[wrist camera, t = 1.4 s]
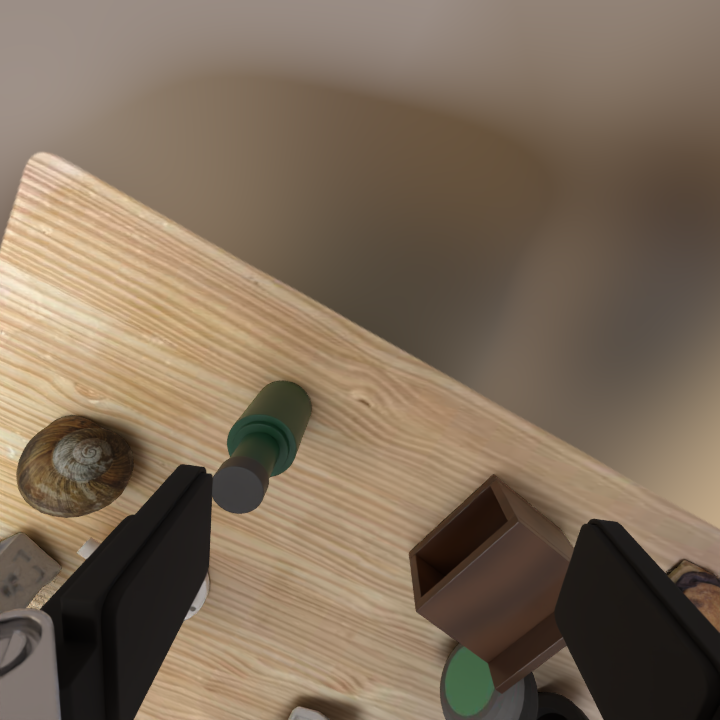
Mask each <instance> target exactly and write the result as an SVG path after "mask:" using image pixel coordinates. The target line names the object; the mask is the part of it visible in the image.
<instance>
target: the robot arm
mask: <svg viewBox="0 0 720 720" xmlns="http://www.w3.org/2000/svg"><path fill="white" fill-rule="evenodd" d="M212 483H213V477H212V475H211V474H207V473H206V469H205V468H204V467H200V466H192V465H185V464H181V465H180V466H178V467H177V468H176V470H175V471H174V472H173V473H172V474H171V475H170V476H169V477H168V478H167V480H166V481H165V482H164V483H163V484H162V485H161V486H160V487H159V489H158V490H157V491H156V492H155V493H154V494H153V495H152V496H151V497H150V499H149V500H148V501H147V502H146V503H145V504H144V505H143V506H142V507H141V509H140V510H139V511H138V512H137V513H136V514H135V515H130V516H127V517H126V518H125V519H124V520H123V521H122V522H121V523H120V524H119V525H118V526H117V527H116V528H115V529H114V530H113V531H112V532H111V533H110V535H109V536H108V537H107V538H106V539H105V540H104V541H103V542H102V543H99V542H98V541H96V540H95V539H93V538H92V537H91V538H89V539H88V540H87V541H86V543H85V544H84V545H83V546H82V547H81V548H80V549H79V551H78V552H77V554H79V555H80V556H82V557H83V558H85V559H86V560H85V562H84V563H83V564H82V565H81V566H80V567H79V568H78V569H77V570H76V571H75V572H74V573H73V574H72V576H71V577H70V578H69V579H68V580H67V581H66V582H65V583H64V584H63V585H62V586H61V587H60V589H59V590H58V591H57V592H56V593H55V594H54V595H53V596H52V597H51V598H50V599H49V600H48V601H47V603H46V604H45V605H44V606H43V607H42V608H41V609H40V610H38V609H33V608H21V609H13V610H9V611H5V612H1V613H0V720H134V718H135V716H136V714H137V712H138V710H139V708H140V706H141V704H142V702H143V700H144V698H145V696H146V694H147V692H148V690H149V688H150V686H151V684H152V682H153V680H154V678H155V676H156V674H157V672H158V670H159V668H160V666H161V665H162V663H163V661H164V659H165V657H166V655H167V653H168V651H169V649H170V647H171V645H172V643H173V641H174V639H175V637H176V635H177V633H178V631H179V629H180V627H181V625H182V623H183V621H185V620H187V619H189V618H191V617H192V616H193V615H195V614H196V613H197V612H198V611H199V610H200V609H201V607H202V606H203V604H204V602H205V600H206V598H207V595H208V592H209V585H210V582H209V575H208V567H209V558H210V533H211V508H212ZM554 615H555V621H556V624H557V627H558V629H559V631H560V633H561V635H562V637H563V639H564V641H565V643H566V645H567V647H568V649H569V651H570V653H571V655H572V657H573V659H574V661H575V663H576V665H577V667H578V669H579V671H580V673H581V675H582V677H583V679H584V681H585V683H586V685H587V687H588V689H589V691H590V693H591V695H592V697H593V699H594V701H595V703H596V705H597V707H598V709H599V711H600V713H601V715H602V717H603V719H604V720H720V632H719V631H718V630H717V629H716V628H715V627H714V626H713V625H712V624H711V623H710V622H709V620H708V619H707V618H706V617H705V616H704V615H703V614H702V613H701V612H700V611H699V610H698V608H697V607H696V606H695V605H694V604H693V603H692V602H691V601H690V600H689V599H688V597H687V596H686V595H685V594H684V593H683V592H682V591H681V590H680V589H679V588H678V587H677V585H676V584H675V583H674V582H673V581H672V580H671V579H670V578H669V577H668V576H667V575H666V573H665V572H664V571H663V570H662V569H661V568H660V567H659V566H658V565H657V564H656V563H655V561H654V560H653V559H652V558H651V557H650V556H649V555H648V554H647V553H646V552H645V550H644V549H643V548H642V547H641V546H640V545H639V544H638V543H637V542H636V541H635V540H634V538H633V537H632V536H631V535H630V534H629V533H628V532H627V531H626V530H625V529H624V528H623V526H622V525H620V524H619V523H618V522H614V521H606V520H599V519H591V520H590V521H589V522H588V524H584V525H583V526H582V527H581V529H580V532H579V535H578V538H577V542H576V545H575V548H574V551H573V554H572V557H571V560H570V563H569V566H568V569H567V572H566V575H565V578H564V581H563V584H562V587H561V590H560V593H559V597H558V600H557V603H556V606H555V610H554Z"/></svg>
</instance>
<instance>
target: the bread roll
mask: <svg viewBox="0 0 720 720" xmlns="http://www.w3.org/2000/svg"><path fill="white" fill-rule="evenodd" d="M680 564H681V565H680ZM680 564H679V566H678V568H676V569H674V570H673V571H672V572H671V574H669V575H668V577H669V578H670V579H671V580H672V581H673V582H674V583H675V584H676V585H677V587H678V588H679V589H680V590H681V591H682V592H683V593H684V594H685V595H686V596H687V597H688V599H689V600H690V601H691V602H692V603H693V604H694V605H695V606H696V607H697V608H698V610H699V611H700V612H701V613H702V614H703V615H704V616H705V617H706V618H707V619H708V620H709V622H710V623H711V624H712V625H713V626H714V627H715V628H716V629H717V630H718V631H719V632H720V579H719V578H717V577H716V576H715V575H713V574H711V573H708V571H706V570H704V569H702V568H700V567H697V566H696V565H693V563H690V562H688V561H685V560H684V561H682V563H680Z"/></svg>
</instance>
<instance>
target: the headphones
mask: <svg viewBox="0 0 720 720" xmlns="http://www.w3.org/2000/svg"><path fill="white" fill-rule="evenodd" d="M440 698H441V705H442V709H443V714H444V716H445V719H446V720H589V719H588V718H587V716H586V715H585V714H584V713H583V711H582V710H581V709H579V708H578V707H577V706H576V705H575V704H574V703H573V702H572V701H570V700H569V699H567V698H566V697H564V696H562V695H559V694H556V693H549V692H544V693H538V691H537V685H536V682H535V678H534V675H533V673H532V672H531V673H529V674H528V675H527V676H525V677H524V678H523V679H521V680H520V681H519V682H517V683H516V684H515V685H513V686H512V687H511V688H509V689H508V690H507V691H505V692H504V693H503V694H501V693H500V692H498V691H497V690H495V688H494V684H493V681H492V677H491V673H490V670H489V666H488V663H486V662H485V661H484V660H482V659H481V658H480V657H478V656H477V655H475V654H474V653H473V652H471V651H470V650H469V649H467V648H466V647H464V646H463V645H462V644H460V643H459V644H458V645H457V646H456V647H455V649H454V650H453V651H452V653H451V654H450V656H449V657H448V659H447V661H446V664H445V666H444V669H443V672H442V677H441V682H440Z"/></svg>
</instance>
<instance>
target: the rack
mask: <svg viewBox="0 0 720 720" xmlns="http://www.w3.org/2000/svg"><path fill="white" fill-rule="evenodd" d="M573 551H574V548H573V547H572V545H571V544H570V542H569V541H568V539H567V538H566V536H565V535H564V533H563V532H562V530H561V529H559V528H558V527H557V526H556V525H555V524H553V523H552V522H551V521H550V520H548V519H547V518H546V517H545V516H544V515H542V514H541V513H540V512H539V511H538V510H536V509H535V508H534V507H533V506H531V505H530V504H529V503H528V502H527V501H525V500H524V499H523V498H522V497H521V496H519V495H518V494H517V493H516V492H514V491H513V490H512V489H511V488H510V487H508V486H507V485H506V484H505V483H504V482H502V481H501V480H500V479H499V478H497V477H496V476H495V475H492V476H491V477H490V478H489V479H488V480H487V481H486V482H485V483H484V484H483V485H482V486H481V487H480V488H478V489H477V490H476V491H475V492H474V493H473V494H472V495H471V496H470V497H469V498H468V499H467V500H465V501H464V502H463V503H462V504H461V505H460V506H459V507H458V508H457V509H456V510H455V511H454V512H453V513H451V514H450V515H449V516H448V517H447V518H446V519H445V520H444V521H443V522H442V523H441V524H440V525H439V526H437V527H436V528H435V529H434V530H433V531H432V532H431V533H430V534H429V535H428V536H427V537H426V538H424V539H423V540H422V541H421V542H420V543H419V544H418V545H417V546H416V547H415V548H414V549H413V550H412V551H410V552H409V559H410V566H411V575H412V583H413V591H414V600H415V609H416V612H417V613H419V614H420V615H421V616H423V617H424V618H426V619H427V620H428V621H430V622H431V623H433V624H434V625H435V626H437V627H438V628H439V629H441V630H442V631H444V632H445V633H446V634H448V635H449V636H451V637H452V638H453V639H455V640H456V641H457V642H459V643H460V644H462V645H463V646H464V647H466V648H467V649H469V650H470V651H471V652H473V653H474V654H475V655H477V656H478V657H480V658H481V659H482V660H484V661H485V662H486V663H488V666H489V670H490V673H491V677H492V681H493V684H494V688H495V690H497V691H498V692H500V693H501V694H503V693H504V692H505V691H507V690H508V689H509V688H511V687H512V686H513V685H515V684H516V683H517V682H519V681H520V680H521V679H523V678H524V677H525V676H527V675H528V674H529V673H531V672H532V671H533V670H535V669H536V668H537V667H539V666H540V665H541V664H543V663H544V662H545V661H547V660H548V659H549V658H551V657H552V656H553V655H555V654H556V653H557V652H559V651H560V650H561V649H563V648H564V647H565V646H567V645H566V643H565V641H564V639H563V637H562V635H561V633H560V631H559V629H558V627H557V624H556V621H555V615H554V610H555V606H556V603H557V600H558V597H559V593H560V590H561V587H562V584H563V581H564V578H565V575H566V572H567V569H568V566H569V563H570V560H571V557H572V554H573Z"/></svg>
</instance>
